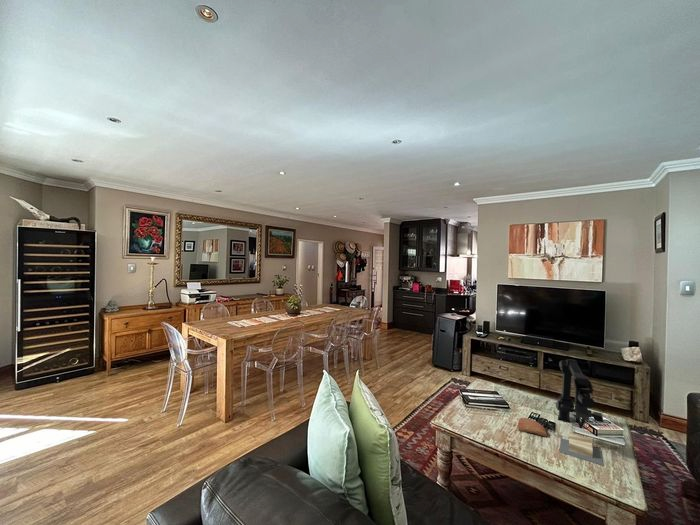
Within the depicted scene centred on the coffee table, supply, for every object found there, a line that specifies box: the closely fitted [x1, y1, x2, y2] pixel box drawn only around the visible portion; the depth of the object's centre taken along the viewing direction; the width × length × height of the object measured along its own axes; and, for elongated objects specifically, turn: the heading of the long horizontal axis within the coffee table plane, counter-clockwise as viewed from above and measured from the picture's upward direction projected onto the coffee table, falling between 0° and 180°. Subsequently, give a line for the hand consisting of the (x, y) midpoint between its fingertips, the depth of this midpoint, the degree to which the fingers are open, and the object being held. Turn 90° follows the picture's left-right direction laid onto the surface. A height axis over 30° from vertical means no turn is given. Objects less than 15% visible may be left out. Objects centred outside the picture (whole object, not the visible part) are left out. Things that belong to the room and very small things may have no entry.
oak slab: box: [568, 432, 594, 458], centre depth 168 cm, size 4×10×13 cm
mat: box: [559, 437, 604, 466], centre depth 165 cm, size 16×18×1 cm
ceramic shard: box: [517, 417, 547, 438], centre depth 187 cm, size 15×6×15 cm
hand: (580, 427), depth 171 cm, fingers closed
